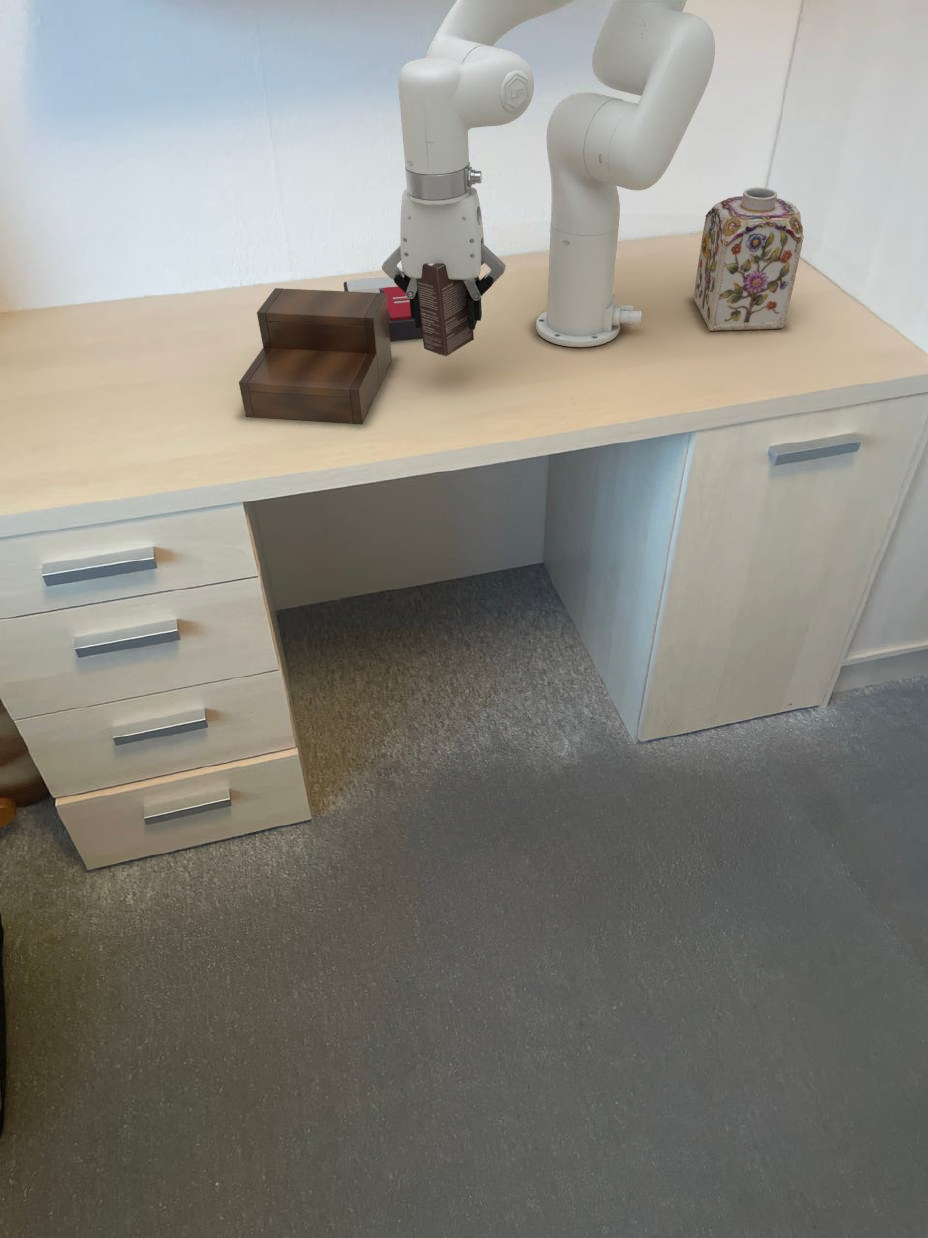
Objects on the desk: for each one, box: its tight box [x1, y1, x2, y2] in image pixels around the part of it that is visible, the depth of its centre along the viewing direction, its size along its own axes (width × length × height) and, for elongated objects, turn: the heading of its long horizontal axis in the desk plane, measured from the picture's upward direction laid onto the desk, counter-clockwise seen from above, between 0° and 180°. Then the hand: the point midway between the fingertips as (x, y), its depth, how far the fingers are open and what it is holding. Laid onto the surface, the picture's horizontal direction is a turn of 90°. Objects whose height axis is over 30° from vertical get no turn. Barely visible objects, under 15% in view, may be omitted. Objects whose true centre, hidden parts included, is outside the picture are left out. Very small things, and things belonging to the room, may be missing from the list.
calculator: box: [343, 276, 423, 342], centre depth 140 cm, size 11×4×15 cm
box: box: [416, 263, 475, 357], centre depth 118 cm, size 6×4×12 cm
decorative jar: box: [693, 186, 805, 332], centre depth 134 cm, size 12×12×18 cm
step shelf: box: [238, 287, 393, 425], centre depth 123 cm, size 16×18×10 cm
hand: (446, 323), depth 120 cm, fingers closed on box, 6 cm apart
